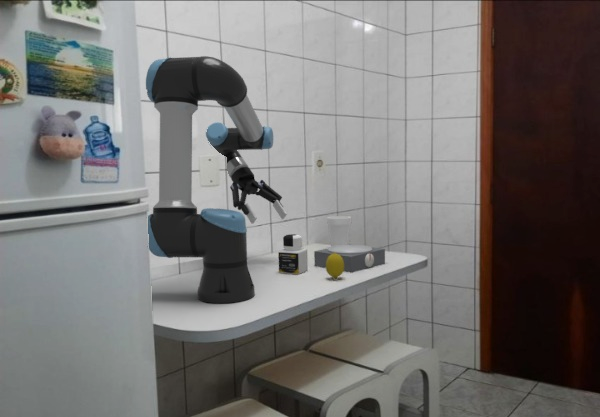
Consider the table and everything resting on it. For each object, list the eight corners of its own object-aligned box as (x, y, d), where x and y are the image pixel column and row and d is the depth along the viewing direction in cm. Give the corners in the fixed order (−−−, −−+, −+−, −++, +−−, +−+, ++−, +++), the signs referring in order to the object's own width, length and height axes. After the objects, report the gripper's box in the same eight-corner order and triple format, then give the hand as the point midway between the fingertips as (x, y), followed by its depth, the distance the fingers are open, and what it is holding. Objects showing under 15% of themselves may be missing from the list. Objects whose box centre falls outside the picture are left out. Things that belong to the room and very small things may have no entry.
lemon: (343, 281, 158) (342, 254, 157) (324, 280, 159) (324, 254, 158) (345, 276, 163) (345, 251, 163) (327, 276, 165) (327, 250, 164)
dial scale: (352, 272, 169) (352, 255, 169) (314, 265, 181) (314, 249, 181) (386, 263, 182) (386, 247, 181) (348, 257, 194) (348, 242, 193)
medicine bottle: (278, 273, 171) (277, 236, 170) (288, 268, 177) (287, 232, 176) (298, 274, 168) (297, 237, 167) (308, 270, 174) (307, 233, 173)
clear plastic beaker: (352, 248, 214) (352, 216, 212) (350, 252, 205) (350, 218, 203) (329, 248, 215) (328, 216, 214) (326, 252, 206) (325, 218, 205)
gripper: (262, 178, 199) (291, 221, 190) (206, 182, 181) (235, 230, 173) (271, 164, 195) (301, 207, 186) (215, 167, 177) (245, 215, 168)
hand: (269, 218), depth 179 cm, fingers open, 13 cm apart
